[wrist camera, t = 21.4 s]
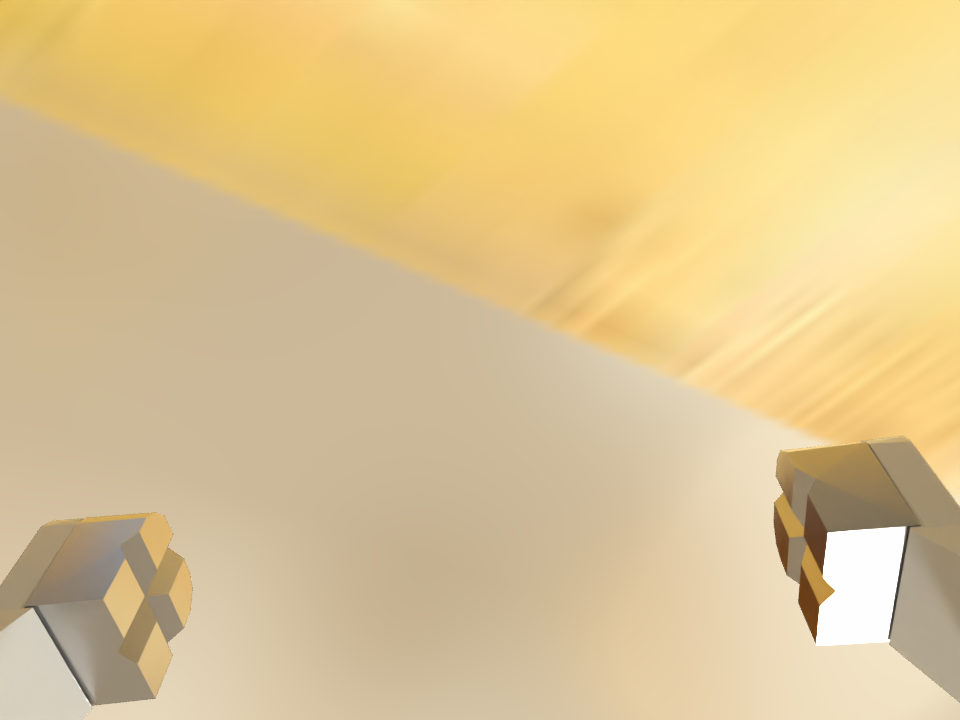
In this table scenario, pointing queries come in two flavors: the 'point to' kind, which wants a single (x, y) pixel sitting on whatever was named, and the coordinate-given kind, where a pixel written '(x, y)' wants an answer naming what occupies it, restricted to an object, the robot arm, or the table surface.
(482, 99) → the table surface
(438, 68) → the table surface
